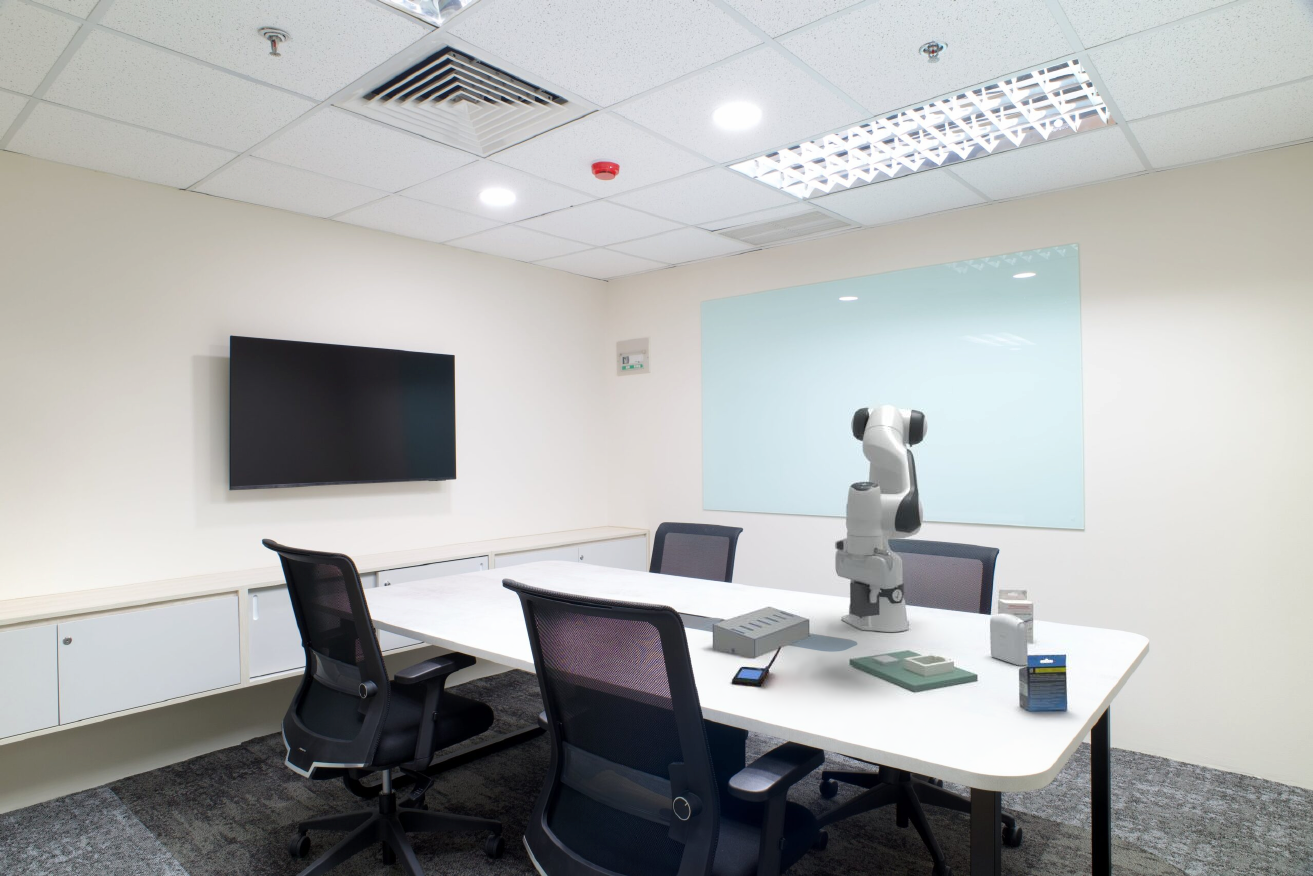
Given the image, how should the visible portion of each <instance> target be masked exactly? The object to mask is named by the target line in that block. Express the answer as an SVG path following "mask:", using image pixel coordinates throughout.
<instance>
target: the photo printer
mask: <svg viewBox="0 0 1313 876" xmlns="http://www.w3.org/2000/svg"><path fill="white" fill-rule="evenodd" d="M989 633H990V634H989V635H990V636H989V637H990V656H991V657H992V658H995V659H998V660H1001V661H1004V662H1007V663H1009V664H1012V665H1013V664H1014V665H1016V666H1027V655H1029V654H1028V651H1029V650H1028V643H1027V626H1026V623H1025V622H1024V621H1022V620H1021V619H1019V618H1017V617H1015V616H1013V615H1009V614H998V613H996V614H992V615H991V617H990V620H989Z"/></svg>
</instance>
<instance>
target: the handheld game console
mask: <svg viewBox="0 0 1313 876" xmlns="http://www.w3.org/2000/svg"><path fill="white" fill-rule="evenodd" d="M781 649H782V648H781V646H780V647H779V649H777V650H776V652H775V654H774V655H773V657H772V659H771V660H770V662H769V663H768V665H766V666H765V667H752V666H740V667H739V668H738V671H737V672H736V673H735V675H734V676H733V678H732V679H731V683H732V684H733V685H736V686H745V687H746V686H747V687H756V688H757V687H758V688H761V687H762V686H763V683H764V682H765V678H767V676H768V674H769V673H770V668H772V665H773V664H774V662H775V660H776V658H777V657H778V656H779V653H780V651H781Z"/></svg>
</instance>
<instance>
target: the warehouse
mask: <svg viewBox="0 0 1313 876" xmlns="http://www.w3.org/2000/svg"><path fill="white" fill-rule="evenodd" d="M810 636H811V635H810V619H809V618H806V617H804V616H800V615H798V614H794V613H792V612H791V613H790V612H787V611H785V610H781V609H778V608H775V607H772V606H766V607H764V608H759V609H757V610H754V611H750V612H747V613H745V614H741V615H737V616H733V617H731V618H728V619H725V620H722V621H719V622H716V623H713V624H712V650H715V651H720V652H725V653H728V654H729V653H730V654H734V655H739V656H743V657H748V658H752V659H756V658H759V657H762V656H764V655H767V654H769V653H771V652H774V651H777V650H778V649H779V647H780V646H781V649H782V648H784V647H786V646H788V645H791V644H795V643H796V642H799V641H802V640H804V639H806V638H809V637H810Z"/></svg>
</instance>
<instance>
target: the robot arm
mask: <svg viewBox="0 0 1313 876" xmlns="http://www.w3.org/2000/svg"><path fill="white" fill-rule="evenodd" d="M850 427H851V432H852V435H853V437H854V438H855V439H856V440H858V441H860V442H862V452H863V454H864V457H865V458H866V459H867V461H868V462H869V477H868V481H860V482H859V481H858V482H854V483H851V485H849V490H848V494H847V503H846V508H845V509H846V511H845V512H846V518H845V526H846V530H847V532H846V537H845V538H842V539H840V540H837V541H835V543H834V548H835V550H836V552H835V557H834V558H835V561H834V562H835V566H834V567H835V573H836V575H837V576H838V577H840V578H844V579H848V580H850V582H861V583H864V584H868V585H870V589H871V592H870V595H867V598H868V599H867V601H868V602H870V603H876V601H877V594H878V592H879V613H880V615H874V616H866V617H858V616H855V615H853V614H850V604H849V606H848V614H846V615H843V616H842V617H841V621H843V622H845V623H847V624H849V625H851V626H853V627H855V628H857V629H859V630H862V631H874V632H886V633H891V632H892V633H895V632H896V633H897V632H904V631H907V630H908V629H909V628H910V627H909V625H910V621H909V620H908V616H907V608H906V607H907V606H906V600H905V598H904V595H905V585H904V581H903V578H904V577H903V560H902V558H901V556H900V555H899V554H898V553H896V552H894V551H892V549H891V547H890V544H889V540H895V539H905V538H909V537H912V536H915V535H917V534H918V533H920V530H921V527H922V523H923V521H924V520H923V519H924V511H923V505H922V502H921V500H920V496H919V495H920V493H919V485H918V477H917V468H916V463H915V457H914V454H913V452H912V450H910V449H908V448H907V445H909V447H910V448H913V445H914V446H915V445H918V444H921V442H923V440H924V438H925V437H926V434H927V432H928V421H927V418H926V416H925V414H924V413H923V412H922V411H921V410H916V409H911V410H910V409H905V408H899V407H896V406H893V405H889V404H883V405H878V406H877V407H874V408H873V407H871V408H869V407H862V408H859V409H857V410H856V411H855V412H854V414H853V417H852V419H851V424H850Z"/></svg>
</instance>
